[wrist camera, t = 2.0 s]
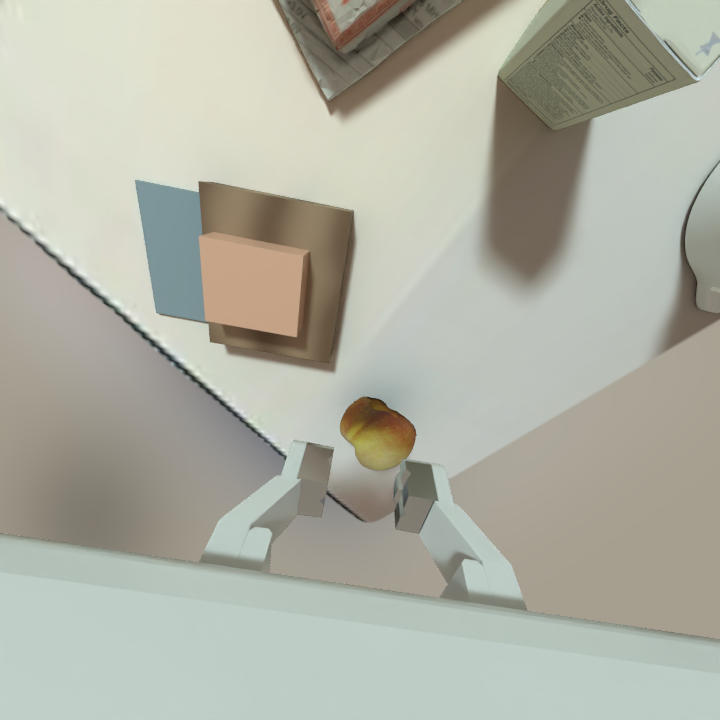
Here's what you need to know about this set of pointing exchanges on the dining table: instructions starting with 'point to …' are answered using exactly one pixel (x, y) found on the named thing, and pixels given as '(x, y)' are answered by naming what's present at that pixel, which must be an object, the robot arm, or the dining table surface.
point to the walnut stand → (293, 229)
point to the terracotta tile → (253, 283)
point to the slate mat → (173, 248)
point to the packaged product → (355, 34)
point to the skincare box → (610, 55)
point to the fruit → (377, 433)
